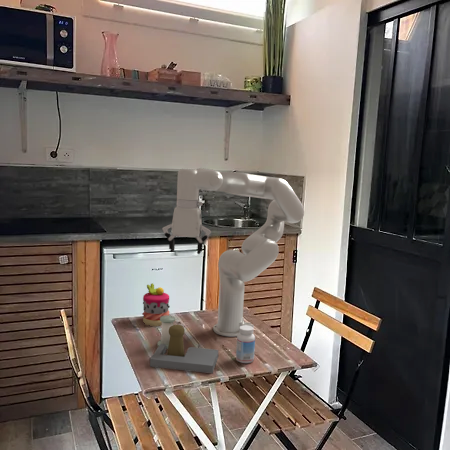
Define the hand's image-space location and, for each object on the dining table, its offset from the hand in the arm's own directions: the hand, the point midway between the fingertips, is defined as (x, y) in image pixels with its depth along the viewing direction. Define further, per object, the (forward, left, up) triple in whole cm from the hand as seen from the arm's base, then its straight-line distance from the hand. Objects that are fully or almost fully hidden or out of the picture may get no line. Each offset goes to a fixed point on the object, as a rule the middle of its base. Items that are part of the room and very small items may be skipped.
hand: (185, 252), depth 163 cm
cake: (+14, -14, -32) cm, 38 cm away
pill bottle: (-24, +12, -32) cm, 42 cm away
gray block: (-5, +18, -32) cm, 37 cm away
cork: (-1, +16, -32) cm, 36 cm away
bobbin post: (+4, +7, -32) cm, 33 cm away
